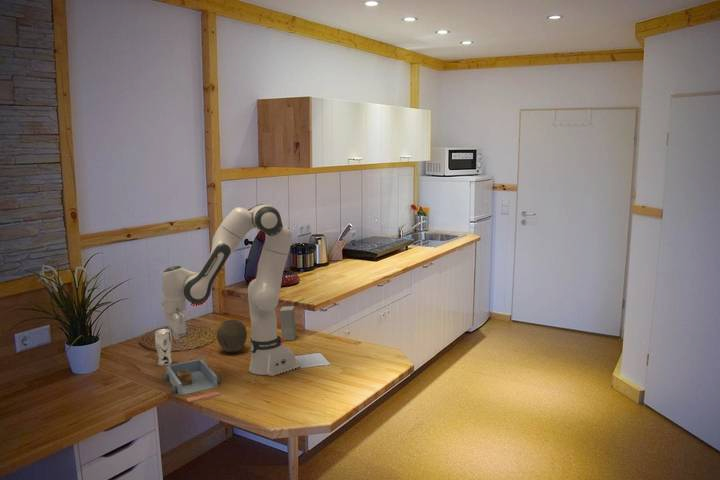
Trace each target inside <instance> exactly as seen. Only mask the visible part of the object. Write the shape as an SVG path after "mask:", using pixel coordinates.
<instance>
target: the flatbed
mask: <svg viewBox="0 0 720 480" xmlns="http://www.w3.org/2000/svg"><path fill="white" fill-rule="evenodd" d="M183 370H189V371H190V372H191V375H192V384H190V385H185V386H182V383H181V382H180V380H179V379H178V378H177V376H176V372H178V371H183ZM161 378H162V381H163V382H164V383H166V382H170V384H171V385H172V386H171V387H169V392H170V393H171V395H175V394H178V396H183V395H187V394H191V393H195V392H199V391H200V392H202V391H205V390H209V389H214V388H218V385H221V384H222V380H221V377H220V376H218V375H217V374H216V373H215V372H214V371H213V370H212V368H211V367H210V365H208V364H207V363H206V362H205V360H204V359H202V358H199V359H198V358H197V359H194V360H189V361H183V362H178V363H171V364H169V365H165V374H163V375H161Z"/></svg>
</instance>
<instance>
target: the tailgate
mask: <svg viewBox="0 0 720 480" xmlns="http://www.w3.org/2000/svg"><path fill="white" fill-rule="evenodd" d="M217 396H218V397H219V396H221V393H220V392H218V391H212V392H208V393H204V394H199V395H195V396H190V397H186V398H185V399H186V401H187V402H188V403H191V402H195V401H201V400H205V399H208V398H209V399H210V398H213V397H217Z"/></svg>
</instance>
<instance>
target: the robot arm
mask: <svg viewBox="0 0 720 480" xmlns="http://www.w3.org/2000/svg"><path fill="white" fill-rule="evenodd" d="M216 229H217V230H216V232H215V233H214V236H213V237H212V243H211V252H210V255H209V257H208V259H207V260H206V262H205V264H204V265H203V267H202V268H201V270H200V271H199V272H196V271H191V270H188V269H186V268H184V267H183V266H181V265H174V266H170V267H168V268H166V269H165V270H164V271H163V272H162V276H161V277H162V278H161V284H162V285H161V287H162V288H161V289H162V292H163V297H162V301H161V302H162V303H161V305H162V308H163V312H164V318H165V321H166V323H167V324H168V326H169V327H170V328H171V331H172V337H173V339H174V340H179V339H180V335H182V334H183V335H184V334H186V332H187V327H186V325H187V324H186V317H185V314H184V312H185V311H186V310H187V301H188V302H189V303H191V304H196V305H199V304H203V303H204V302H206V301H207V300H208V299H209V297H210V295H211V291H212V285H213V283H214V281H215V279H216V278H217V276H218V275H219V273H220V271H221V270H222V269H223V268H222V267H223V266H224V265H225V263H226V261H227V260H228V259H229V258H230V257H231V256H232V254H233V253H235V251H236V250H237V248H238V247H239V246H240V245H241V243H242V242H243V241H244V239H245V237H246V236H247V233H249V232H250V231H251V230H253V229H257V230H259V231H261V232H263V233H264V234H265V235H264V236H265V239H264V243H263V246H262V249H261V253H260V256H259V260H258V263H257V271H256V277H255V278H254V279H252V280H251V281H250V282H249V284H248V287H247V300H248V309H249V310H248V311H249V318H250V334H251V335H250V342H249V343H250V351H251V354H250V362H249V367H248V371H249V373H251V374H254V375H260V376H261V375H262V376H271V377H273V376H277V374H278V375H281V374H283V372H284V373H287V372H290V371H293V370H296V369H299V368H301V367H302V363H301V361H299V359H298V358H296V356H295V353H294V351H293V350H292V349H291V348H289V347H288V346H286V345H285V344H284V343H286V341H287V340H285V339H284V338H282V336H280V335H278V323H277V322H278V320H277V314H276V307H277V305H278V304H279V298H280V292H281V287H282V281H283V273H284V271H285V267H286V265H287V264H286V263H287V259H288V256H289V253H290V249H291V244H292V236H293V235H292V234H293V233H292V231H291V229H290V228H288V227H287V226H286V225H283V221H282V217H281V214H280V212H279V211H278V210H277V209H276V208H275V207H274V206H273V205H271V204H270V205H269V204H266V203H260V204H259V203H258V204H257V205H255V206H253V207H250V208H248V209H247V208H245V207H242V206H241V207H240V206H238V207H237V206H236V207H234V208H233V209H232V210H231V211H230V212H229V213H228V214H227V215H226V217H224V219H223V221H222V222H221V223H220V225H219V226H218V228H216ZM300 366H301V367H300ZM298 367H299V368H298ZM295 368H296V369H295ZM292 369H293V370H292ZM289 370H290V371H289ZM286 371H287V372H286ZM280 373H281V374H280Z"/></svg>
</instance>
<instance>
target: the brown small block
mask: <svg viewBox="0 0 720 480" xmlns="http://www.w3.org/2000/svg"><path fill="white" fill-rule="evenodd" d="M176 376H177V378H178V379H179V380H180V382H181V383H182V386H185V385H190V384H192V375H191V372H190V371H189V370H183V371H178V372H176Z"/></svg>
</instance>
